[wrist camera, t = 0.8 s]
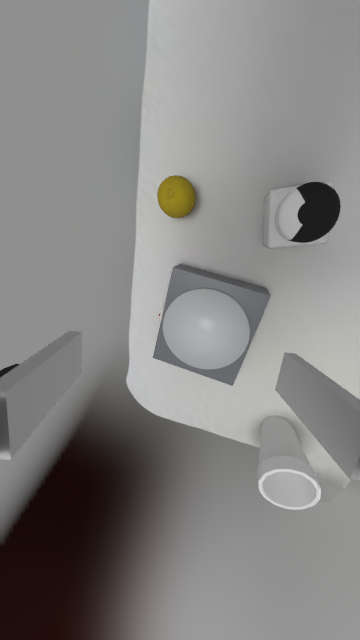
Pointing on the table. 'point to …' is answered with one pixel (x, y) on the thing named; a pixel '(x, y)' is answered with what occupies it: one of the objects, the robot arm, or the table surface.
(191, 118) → the table surface
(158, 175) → the table surface
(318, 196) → the medicine bottle
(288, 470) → the clear plastic beaker
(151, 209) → the table surface
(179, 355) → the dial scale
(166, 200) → the lemon
